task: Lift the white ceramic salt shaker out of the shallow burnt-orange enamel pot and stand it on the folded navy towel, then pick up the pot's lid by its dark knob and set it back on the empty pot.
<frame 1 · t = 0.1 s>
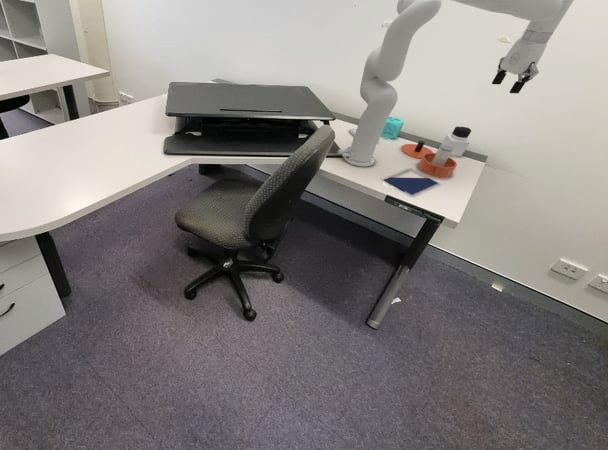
hand: (504, 88, 122), 31 cm above the table, tool pointing down, fingers open, 9 cm apart
pot: (433, 170, 137), on the table
decorative dice: (387, 136, 161), on the table
hard drive: (362, 137, 159), on the table
pot lid: (416, 151, 147), point 1 cm above the table
salt shaker: (434, 169, 136), resting on pot
medicine bottle: (449, 153, 149), on the table
towel: (410, 182, 130), on the table
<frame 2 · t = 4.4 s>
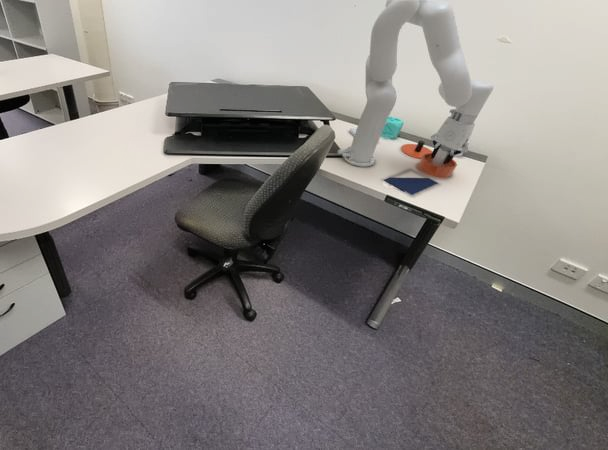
hand: (439, 159, 133), 5 cm above the table, tool pointing down, fingers closed on salt shaker, 4 cm apart
salt shaker: (434, 169, 136), resting on pot, touching gripper
everything else where it was.
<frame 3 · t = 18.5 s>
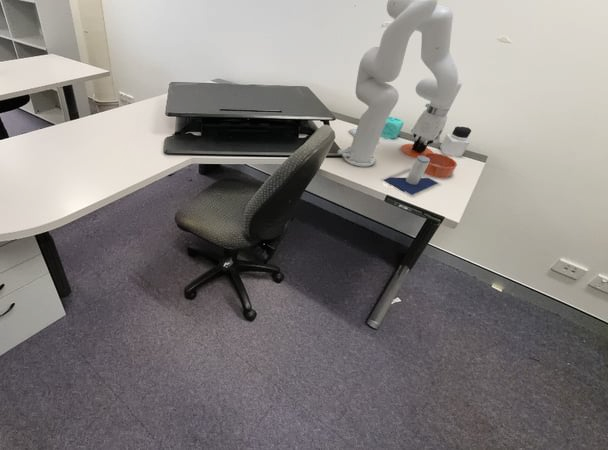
hand: (417, 150, 147), 1 cm above the table, tool pointing down, fingers closed on pot lid, 2 cm apart
pot lid: (416, 151, 147), point 1 cm above the table, touching gripper
salt shaker: (411, 181, 129), resting on towel
everything else where it was.
when the fingers open (6 cm above the table, at t = 24.4 s): pot lid stays where it is, resting on pot.
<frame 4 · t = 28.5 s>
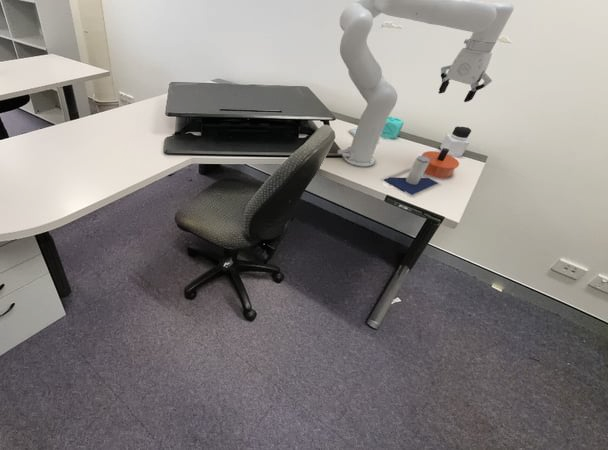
hand: (453, 97, 122), 28 cm above the table, tool pointing down, fingers open, 9 cm apart
pot lid: (439, 160, 133), point 5 cm above the table, touching pot
everything else where it was.
at the end: salt shaker 0.2 cm from the towel (horizontally); salt shaker tilted 0°; pot lid 0.1 cm off-centre on the pot, point 4.9 cm above the pot's base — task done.
